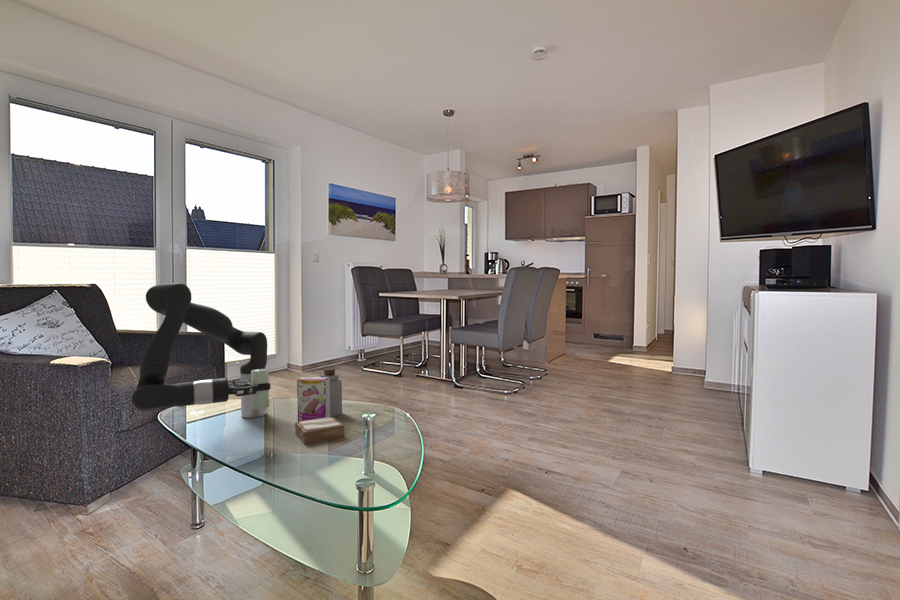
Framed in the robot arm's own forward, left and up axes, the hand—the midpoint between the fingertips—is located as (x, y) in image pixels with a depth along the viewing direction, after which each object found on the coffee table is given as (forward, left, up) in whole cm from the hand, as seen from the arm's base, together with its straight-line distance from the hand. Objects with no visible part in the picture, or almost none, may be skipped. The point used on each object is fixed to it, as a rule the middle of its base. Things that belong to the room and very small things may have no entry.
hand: (268, 384), depth 149 cm
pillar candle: (0, -3, -7) cm, 7 cm away
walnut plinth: (+4, +15, -19) cm, 25 cm away
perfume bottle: (-20, +26, -19) cm, 38 cm away
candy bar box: (-14, +18, -19) cm, 30 cm away
